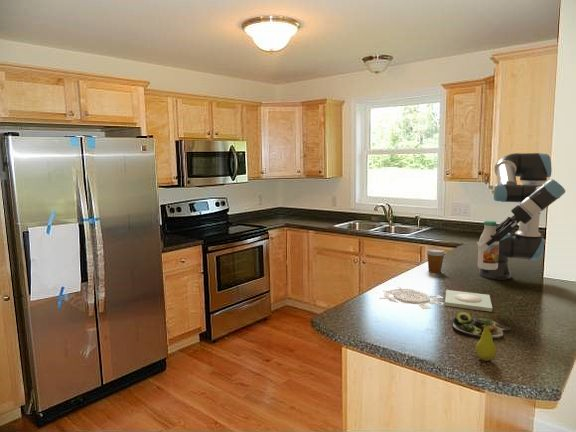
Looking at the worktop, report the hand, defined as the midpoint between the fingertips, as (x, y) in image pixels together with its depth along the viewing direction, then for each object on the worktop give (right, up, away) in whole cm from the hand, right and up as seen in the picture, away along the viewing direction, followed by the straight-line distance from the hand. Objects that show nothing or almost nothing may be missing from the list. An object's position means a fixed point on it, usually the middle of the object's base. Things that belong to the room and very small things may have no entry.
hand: (479, 247), depth 173 cm
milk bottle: (+3, -9, 0) cm, 9 cm away
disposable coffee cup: (0, -18, +53) cm, 55 cm away
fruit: (-21, -31, -47) cm, 60 cm away
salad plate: (-13, -28, -24) cm, 39 cm away
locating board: (-3, -24, +4) cm, 25 cm away
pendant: (-26, -24, +10) cm, 37 cm away
